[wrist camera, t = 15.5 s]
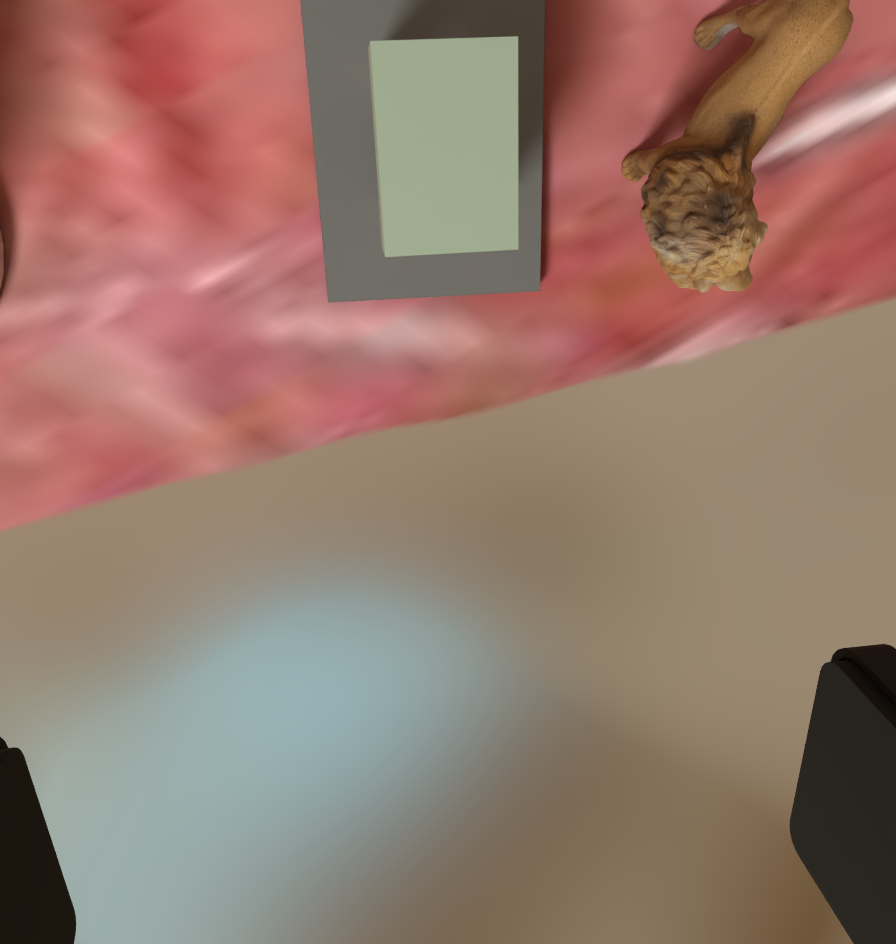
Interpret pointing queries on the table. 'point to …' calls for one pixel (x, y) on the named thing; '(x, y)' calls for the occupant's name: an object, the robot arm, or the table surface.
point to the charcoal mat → (354, 158)
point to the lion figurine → (731, 141)
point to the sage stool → (446, 144)
